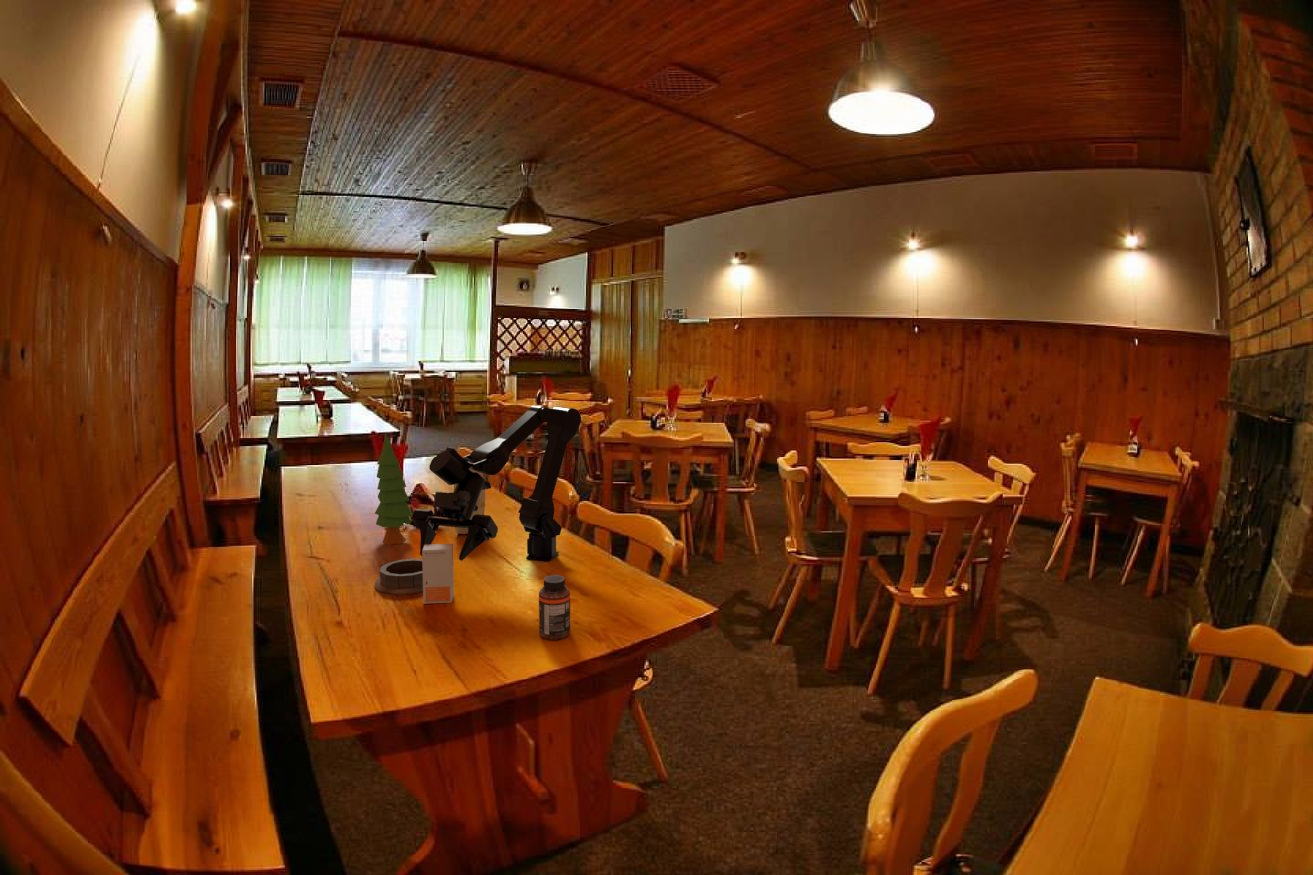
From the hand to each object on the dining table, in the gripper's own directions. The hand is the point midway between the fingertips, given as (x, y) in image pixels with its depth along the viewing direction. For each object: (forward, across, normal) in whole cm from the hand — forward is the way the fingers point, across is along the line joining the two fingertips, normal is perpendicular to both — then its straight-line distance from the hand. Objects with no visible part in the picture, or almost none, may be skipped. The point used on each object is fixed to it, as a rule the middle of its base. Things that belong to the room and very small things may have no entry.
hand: (440, 557), depth 149 cm
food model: (-26, -18, +39) cm, 50 cm away
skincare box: (+8, 0, +6) cm, 9 cm away
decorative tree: (-17, -33, +29) cm, 47 cm away
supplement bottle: (+14, +30, -1) cm, 33 cm away
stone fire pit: (+2, -12, +10) cm, 16 cm away
